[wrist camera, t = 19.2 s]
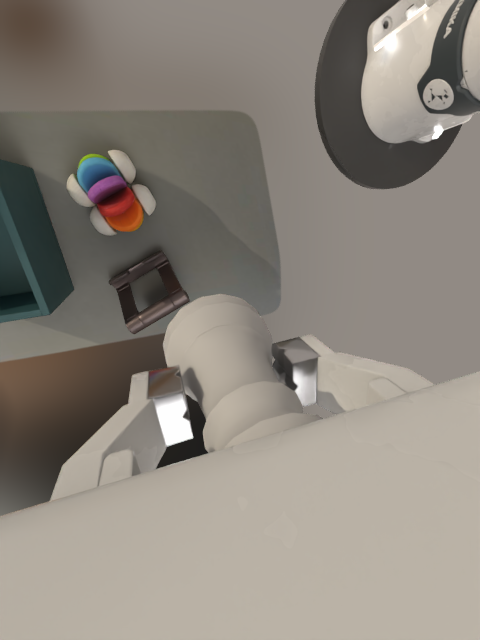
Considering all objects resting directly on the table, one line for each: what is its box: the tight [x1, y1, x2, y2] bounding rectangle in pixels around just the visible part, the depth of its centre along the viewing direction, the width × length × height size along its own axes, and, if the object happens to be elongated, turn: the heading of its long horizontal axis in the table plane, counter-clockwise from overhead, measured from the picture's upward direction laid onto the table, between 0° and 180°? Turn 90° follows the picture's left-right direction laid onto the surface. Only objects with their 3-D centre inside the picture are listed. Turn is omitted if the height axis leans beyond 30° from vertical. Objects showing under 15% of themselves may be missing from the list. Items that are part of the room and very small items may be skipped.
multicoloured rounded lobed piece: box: [67, 150, 156, 235], centre depth 35 cm, size 8×10×7 cm
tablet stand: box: [109, 250, 190, 334], centre depth 40 cm, size 9×8×8 cm
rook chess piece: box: [163, 294, 323, 453], centre depth 9 cm, size 4×4×8 cm
